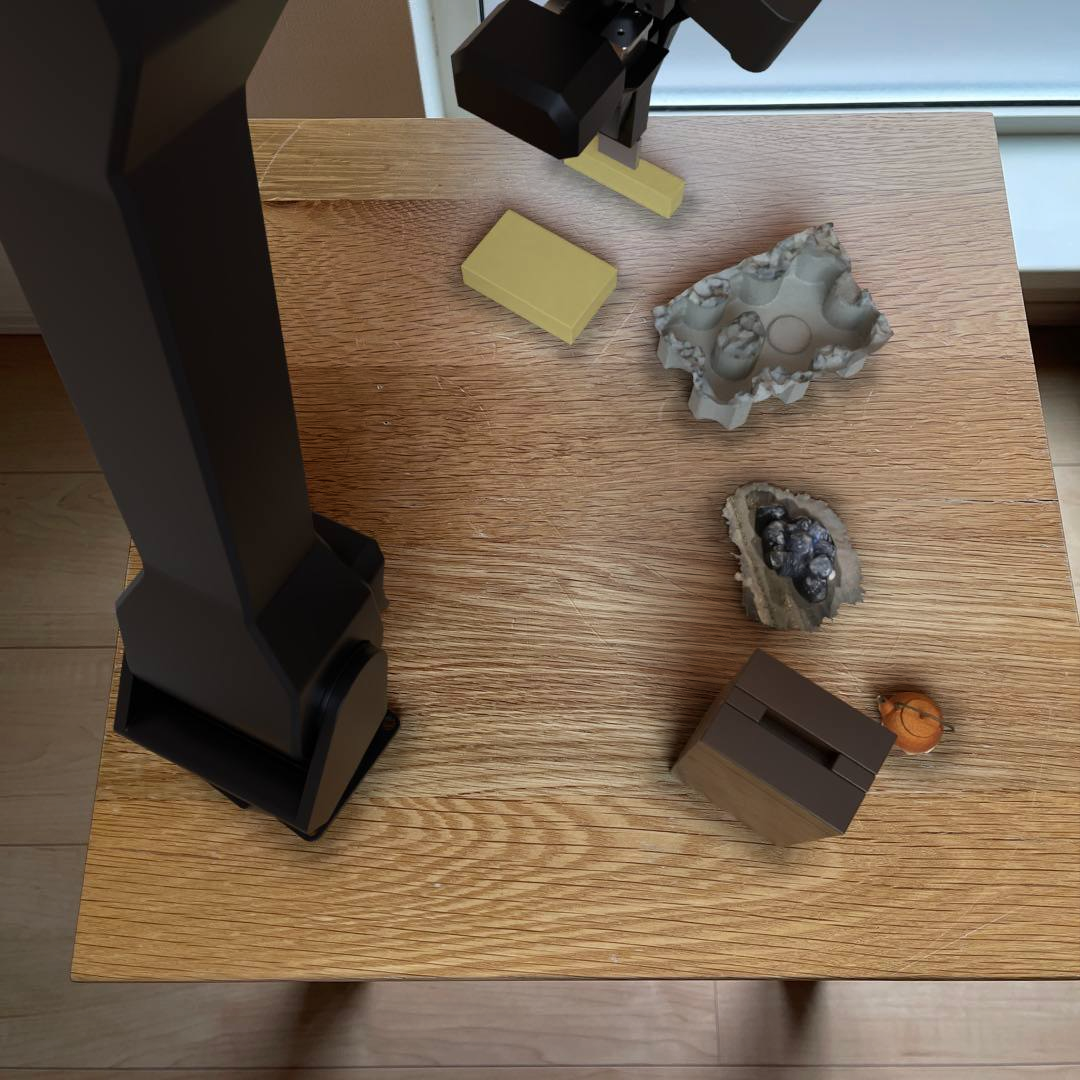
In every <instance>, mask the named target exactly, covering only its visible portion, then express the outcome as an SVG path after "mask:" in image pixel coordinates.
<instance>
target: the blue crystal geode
mask: <svg viewBox="0 0 1080 1080" xmlns="http://www.w3.org/2000/svg"><path fill="white" fill-rule="evenodd" d="M724 506H725V507H723V509H722V510H721V511H722V515H721V517H725V518H726V519H727V520H728V521H726V522H725V523H726V525H729V526H728V532H727V533H728V534H729V535H728V536H727V538H729V539H730V540H731V542H733V544H735V545H736V546H737V547H738V549H739V550H740V553H741V554H740V555H739V554H736V553H733V552H729V554H730V555H733V556H734V557H735V559H736V560H737V559H739V562H737V564H738V565H741V566H740V571H741V573H740V572H739V571H737V572H736V573H735V575H734V580H736V581H737V582H740V581H742V582H741V583H742V587H741V590H742V592H741V595H742V598H743V599H742V600H741V606H743V607H745V610H746V611H745V613H746V614H745V615H746V616H748V617H750V616H751V617H752V620H754V621H755V620H756V622H757V623H759V624H760V625H763V626H765V625H766V626H770V627H772V628H775V629H777V630H779V629H780V630H783V629H784V630H789V631H792V629H793V628H794V627H795V625H797V626H798V629H799V630H800V631H801V632H803V633H805V632H806V633H809V634H812V633H813V632H815V630H819V629H820V628H821V627H822V623H823V620H824V618H826V619H828V620H830V622H834V618H835V617H837V616H838V615H840V613H839V612H838V610H839V609H840V608H841V607H840V605H841V604H848V605H853V606H856V605H857V602H858V603H859V602H861V603H862V604H864V603H865V600H864V596H863V595H862V594H864V595H866V596H867V590H866V589H865V588H863V587H862V586H861V582H862V581H863V576H862V575H863V574H862V573H863V572H862V567H861V566H862V562H861V561H860V558H859V557H858V556H859V552H858V550H855V549H854V548H852V547H853V546H852V543H851V542H853V541H854V539H853V538H851V537H850V536H849V534H846V533H847V532H848V529H846V528H847V525H846V523H844V522H843V520H842V519H841V517H839V516H838V514H837V513H835V511H834V510H833V509H831V508H830V507H829V503H828V502H827V501H824V500H822V499H813V498H811V495H809V494H808V493H807V492H804V493H801V494H800V493H799V492H798V493H797V495H796V496H795V495H794V493H792V492H790V490H789V489H788V488H786V489H784V490H782V489H781V488H780V487H777V486H772V485H770V484H769V483H768V482H761V481H760V482H759V481H757V482H751V483H747V484H745V485H742V486H741V487H738V486H737V487H736V490H735V493H734V494H733V495H729V496H728V497H727V498H726V504H724Z"/></svg>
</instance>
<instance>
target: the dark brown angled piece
mask: <svg viewBox="0 0 1080 1080" xmlns="http://www.w3.org/2000/svg"><path fill="white" fill-rule="evenodd" d="M658 33H659V29H657V28H655V27H653V26H651V28H650V29H649V30H648V37H647V39H648V40H650V41H652V42H654V43H656V44H657V41H658ZM653 74H654V71H653V72H652V74H651V75H650V76H649V77H648V78H647V80H646V81H645V82H644V83H643V84H642V86H641V87H640V88H639V89H637V90H636V91H634V92H633V94H632V98H631V102H630V106H629V109H628V113H627V117H626V120H625V123H624V126H623V129H622V132H621V134H620V136H619V137H618V138H617V139H614V138H612V137H610V136H608V135H606V134H604V133H602V132H601V131H599V132H598V136H599V137H598V151H599V152H600V153H602V154H604V155H606V156H608V157H610V158H612V159H614V160H616V161H618V162H620V163H621V164H623V165H625V166H627V167H629V168H631V169H633V170H636V169H637V168H638V166H639V160H640V158H641V151H642V143H643V138H642V136H643V134H644V133H645V132H646V131H647V128H648V122H649V113H650V104H651V98H652V97H651V96H652V89H653V85H652V82H653Z"/></svg>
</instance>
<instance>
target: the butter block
mask: <svg viewBox="0 0 1080 1080" xmlns="http://www.w3.org/2000/svg"><path fill="white" fill-rule="evenodd" d="M460 266H461V274H462V281H463V284H464V285H466V286H468V287H469V288H471V289H473V290H474V291H477V293H479V294H481V295H483V296H485V297H487V298H489V299H490V300H492V301H494V302H495V303H497V304H499V305H500V306H502V307H504V308H506V309H507V310H509V311H511V312H512V313H514V314H516V315H518V316H520V317H522V318H523V319H524V320H526V321H528V322H530V323H531V324H533V325H535V326H537V327H538V328H540V329H542V330H544V331H546V332H547V333H549V334H550V335H553V336H555V337H556V338H558V339H559V340H561V341H563V342H564V343H567V344H568V345H570V346H572V345H573V344H574V342H575V341H576V340H577V339H578V337H579V336H580V334H581V333H582V332H583V331H584V329H585V328H586V327H587V325H589V323H590V321H591V320H592V319H593V318H594V316H595V314H597V313H598V311H599V310H600V309H601V307H602V306H603V305H604V303H605V302H606V300H607V299H608V298H609V297H610V295H612V293H613V291H615V289H616V288H617V279H618V272H619V271H618V270H619V269H618V268H617V267H616V266H614V265H612V264H610V263H608V262H607V261H604V260H603V259H601V258H599V257H598V256H596V255H594V254H592V253H590V252H588V251H587V250H584V249H582V248H581V247H579V246H577V245H575V244H573V243H572V242H570V241H568V240H566V239H564V238H563V237H561V236H559V235H557V234H555V233H554V232H552V231H551V230H548V229H546V228H544V227H543V226H541V225H539V224H537V223H535V222H534V221H532V220H530V219H528V218H526V217H524V216H523V215H521V214H519V213H517V212H515V211H514V210H513V209H512V210H511V209H510V208H509V209H507V210H506V211H505V212H504V214H503V215H502V216H501V217H500V218H499V219H498V221H497V222H496V223H495V224H494V225H493V227H492V228H491V229H490V230H489V231H488V233H487V234H486V235H485V236H484V237H483V238H482V239H481V241H480V242H479V243H478V245H476V247H475V248H474V249H473V251H472V252H470V254H469V255H468V256H467V257H466V259H465V260H464V261H463V262H462V264H461V265H460Z"/></svg>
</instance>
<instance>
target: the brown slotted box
mask: <svg viewBox="0 0 1080 1080" xmlns="http://www.w3.org/2000/svg"><path fill="white" fill-rule="evenodd" d="M897 738H898V735H897V734H895V733H894V732H892V731H890V730H889V729H887V728H886V727H884V726H882V723H879V722H877V721H876V720H875V719H873V718H872V717H870V716H868V715H867V714H865V713H863V712H862V711H860V710H858V709H857V708H856V707H853V706H852V705H851V704H849V703H847V702H846V701H844V700H842V699H841V698H840V697H838V696H836V695H835V694H834V693H832V692H831V691H828V690H827V689H825V688H824V687H822V686H820V685H819V684H817V683H816V682H814V681H812V680H811V679H809V678H807V677H806V676H804V675H803V674H801V673H799V672H798V671H796V670H795V669H793V668H792V667H790V666H788V665H787V664H785V663H783V662H782V661H781V660H779V659H778V658H775V657H774V656H772V655H771V654H769V653H768V652H766V651H765V650H763V649H761V648H760V647H756V648H755V649H754V650H753V651H752V653H751V654H750V655H749V656H748V658H747V659H746V660H745V661H744V662H743V664H742V665H741V666H740V668H739V669H738V670H737V671H736V672H735V674H734V675H733V676H732V677H731V678H730V680H729V681H728V682H727V683H726V685H725V686H724V687H723V688H722V689H721V690H720V692H719V693H718V694H717V696H716V697H715V698H714V699H713V700H712V703H711V704H710V705H709V707H708V708H707V710H706V712H705V713H704V715H703V717H702V719H701V720H700V722H699V723H698V725H697V727H696V728H695V730H694V731H693V733H692V734H691V736H690V738H689V739H688V741H687V742H686V744H685V746H684V747H683V749H682V751H681V752H680V753H679V756H678V757H677V759H676V760H675V762H674V763H673V765H672V766H671V768H670V770H669V773H668V774H669V775H671V776H672V777H673V778H675V779H677V780H678V781H679V782H681V783H683V784H684V785H685V786H687V787H689V788H690V789H691V790H693V791H694V792H696V793H697V794H699V795H700V796H702V797H703V798H705V799H706V800H708V801H709V802H711V803H712V804H713V805H715V806H716V807H718V808H719V809H721V810H723V811H724V812H725V813H727V814H729V816H731V817H733V818H735V819H736V820H737V821H738V822H740V823H742V824H743V825H744V826H746V827H748V828H750V829H751V830H752V831H753V832H755V833H757V834H758V835H760V836H761V837H763V838H764V839H765V840H767V841H768V842H770V843H771V844H773V845H774V846H776V847H777V848H783V847H784V848H785V847H788V846H794V845H797V844H804V843H809V842H814V841H819V840H824V839H829V838H833V837H840V836H844V835H845V834H846V832H847V831H848V829H849V827H850V825H851V823H852V822H853V820H854V818H855V816H856V815H857V812H858V810H859V809H860V807H861V806H862V804H863V802H864V800H865V798H866V796H867V793H869V791H870V789H871V787H872V785H873V783H874V781H875V780H876V776H877V775H878V774H879V773H880V770H881V769H882V767H883V765H884V764H885V762H886V759H887V758H888V756H889V754H890V752H891V751H892V749H893V747H894V746H893V745H894V743H895V741H896V740H897Z"/></svg>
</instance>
